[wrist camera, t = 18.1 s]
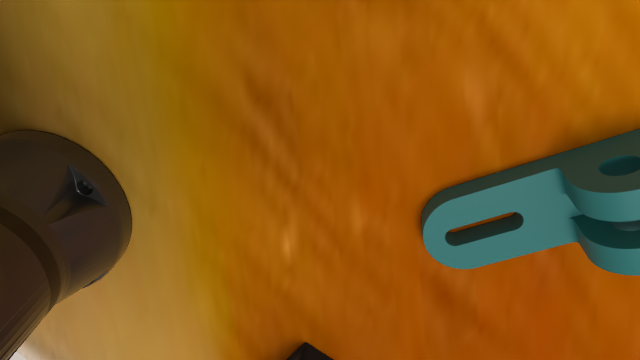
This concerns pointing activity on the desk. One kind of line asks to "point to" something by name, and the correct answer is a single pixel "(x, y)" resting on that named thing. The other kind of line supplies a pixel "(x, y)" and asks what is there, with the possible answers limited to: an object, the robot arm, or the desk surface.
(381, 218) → the desk surface
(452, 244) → the bracket
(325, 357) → the digital camera
